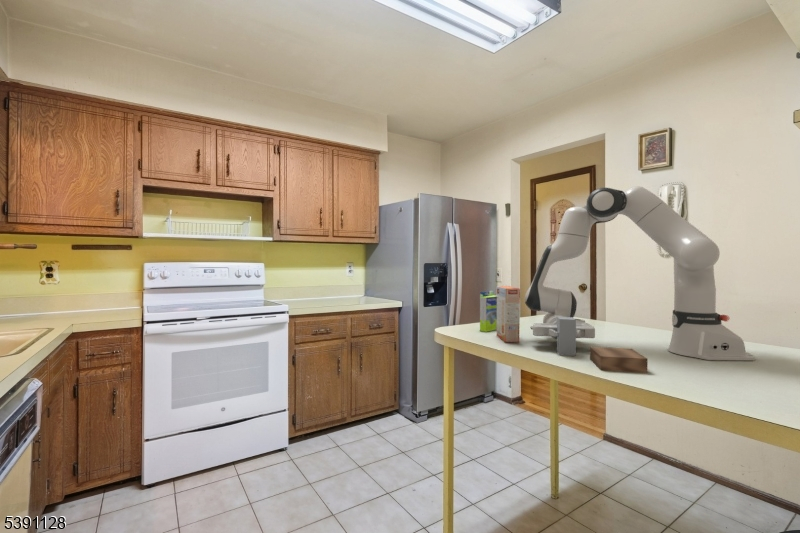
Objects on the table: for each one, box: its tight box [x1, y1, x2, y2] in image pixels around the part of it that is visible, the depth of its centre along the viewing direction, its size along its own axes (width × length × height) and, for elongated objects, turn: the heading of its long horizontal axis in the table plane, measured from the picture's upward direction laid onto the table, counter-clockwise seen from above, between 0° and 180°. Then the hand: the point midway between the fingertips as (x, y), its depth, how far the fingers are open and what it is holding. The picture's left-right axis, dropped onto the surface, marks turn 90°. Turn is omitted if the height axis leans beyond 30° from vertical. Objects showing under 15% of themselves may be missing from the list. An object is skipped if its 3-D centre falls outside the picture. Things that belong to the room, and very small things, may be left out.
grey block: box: [556, 317, 577, 357], centre depth 129 cm, size 5×5×12 cm
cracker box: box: [495, 285, 521, 344], centre depth 152 cm, size 14×6×21 cm, turn 179°
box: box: [479, 290, 497, 333], centre depth 171 cm, size 10×4×17 cm, turn 132°
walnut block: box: [589, 346, 648, 374], centre depth 114 cm, size 12×12×4 cm
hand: (566, 334), depth 128 cm, fingers closed on grey block, 5 cm apart
